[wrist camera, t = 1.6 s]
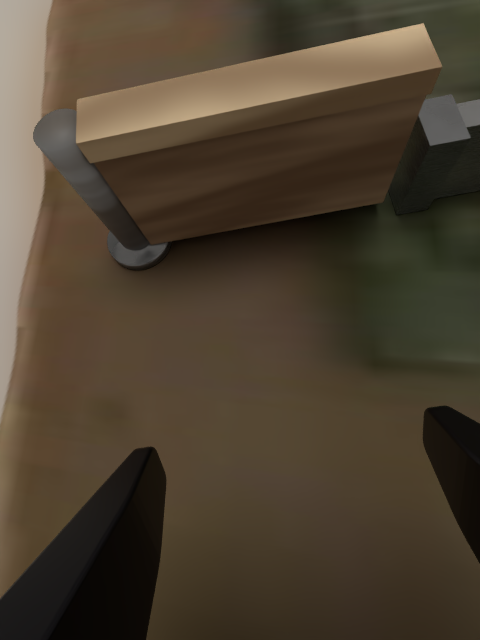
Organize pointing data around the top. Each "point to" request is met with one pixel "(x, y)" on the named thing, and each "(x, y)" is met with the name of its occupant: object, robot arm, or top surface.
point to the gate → (246, 139)
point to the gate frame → (411, 174)
